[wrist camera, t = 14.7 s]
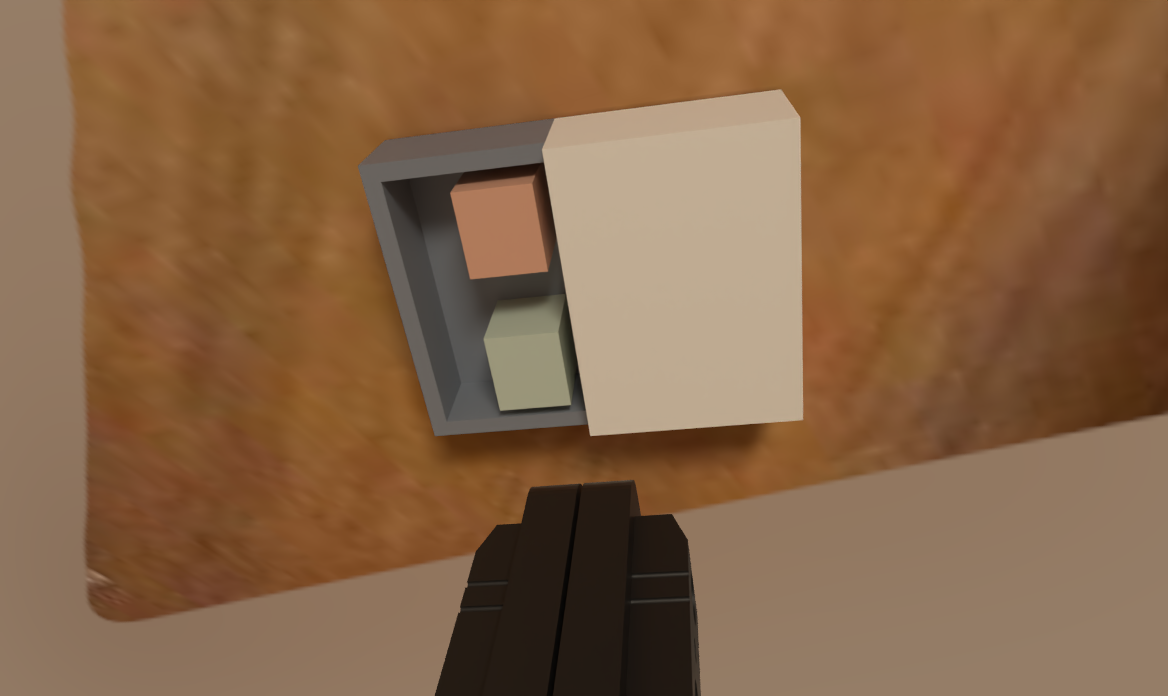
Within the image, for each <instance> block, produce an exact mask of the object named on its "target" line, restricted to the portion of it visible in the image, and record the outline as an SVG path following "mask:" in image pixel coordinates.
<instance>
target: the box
mask: <svg viewBox="0 0 1168 696" xmlns="http://www.w3.org/2000/svg"><path fill="white" fill-rule="evenodd" d="M553 121H554V119H547V120H539V121H531V122H523V123H516V124H508V125H500V126H492V127H484V128H477V129H469V130H461V131H453V132H445V133H438V134H430V135H422V136H414V137H406V138H399V139H391V140H385V141H384V142H383V143H382V144H380V145H379V146H378V147H377V148H376V149H375V150H374V151H373V152H372V153H371V154H370V155H369V156H368V157H367V158H366V159H365V160H363V161H362V162H361V163H360V164H359V165H358V168H359V172H360V175H361V179H362V182H363V186H364V189H365V193H366V196H367V200H368V203H369V207H370V210H371V214H372V217H373V221H374V224H375V228H376V231H377V235H378V238H379V242H380V245H381V249H382V252H383V256H384V259H385V263H386V266H387V270H388V273H389V277H390V280H391V284H392V287H393V291H394V294H395V298H396V301H397V305H398V308H399V312H400V315H401V319H402V322H403V326H404V329H405V333H406V336H407V340H408V343H409V347H410V350H411V354H412V357H413V361H414V364H415V368H416V371H417V375H418V378H419V382H420V385H421V389H422V392H423V396H424V399H425V403H426V406H427V410H428V413H429V417H430V420H431V424H432V427H433V431H434V434H435V436H443V435H456V434H469V433H482V432H495V431H508V430H521V429H534V428H547V427H560V426H573V425H585V424H588V419H587V413H586V407H585V401H584V395H583V390H582V384H581V378H580V372H579V366H578V360H577V369H576V375H575V382H574V389H573V396H572V402H571V405H565V406H552V407H540V408H527V409H515V410H503V411H500V408H499V404H498V400H497V395H496V391H495V387H494V382H493V378H492V374H491V369H490V365H489V361H488V356H487V352H486V348H485V343H484V336H485V334H486V331H487V328H488V325H489V323H490V320H491V317H492V315H493V312H494V309H495V306H496V304H497V301H499V300H509V299H519V298H529V297H539V296H549V295H559V294H566V289H565V283H564V277H563V271H562V265H561V259H560V253H559V247H558V241H557V239H556V242H555V246H554V250H553V254H552V258H551V262H550V265H549V269H548V272H538V273H528V274H518V275H509V276H499V277H489V278H480V279H470V276H469V272H468V267H467V263H466V259H465V254H464V250H463V246H462V241H461V237H460V233H459V229H458V224H457V220H456V216H455V211H454V207H453V203H452V198H451V194H450V192H451V191H452V189H453V188H454V186H455V185H456V183H457V182H458V180H459V179H460V177H461V176H462V174H463V173H464V172H468V171H476V170H485V169H493V168H501V167H509V166H518V165H526V164H534V163H542V162H544V159H543V153H542V148H543V146H544V143H545V141H546V138H547V136H548V134H549V131H550V129H551V126H552V124H553ZM566 298H567V295H566ZM567 303H568V301H567ZM568 309H569V307H568ZM569 315H570V313H569ZM570 321H571V318H570ZM571 327H572V324H571ZM572 333H573V330H572ZM573 339H574V336H573ZM574 345H575V342H574ZM575 351H576V348H575ZM576 357H577V354H576Z"/></svg>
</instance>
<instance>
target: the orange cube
mask: <svg viewBox="0 0 1168 696" xmlns="http://www.w3.org/2000/svg"><path fill="white" fill-rule="evenodd" d="M450 194H451V198H452V203H453V207H454V211H455V216H456V220H457V224H458V229H459V233H460V237H461V241H462V246H463V250H464V254H465V259H466V263H467V267H468V272H469V276H470V279H480V278H489V277H499V276H509V275H518V274H528V273H538V272H548V269H549V265H550V262H551V258H552V254H553V250H554V246H555V242H556V239H557V236H556V230H555V224H554V218H553V212H552V206H551V200H550V194H549V188H548V182H547V176H546V170H545V165H544V162H542V163H534V164H526V165H518V166H509V167H501V168H493V169H485V170H476V171H468V172H464V173H463V174H462V176H461V177H460V179H459V180H458V182H457V183H456V185H455V186H454V188H453V189H452V191H451V192H450Z"/></svg>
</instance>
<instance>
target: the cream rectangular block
mask: <svg viewBox="0 0 1168 696" xmlns="http://www.w3.org/2000/svg"><path fill="white" fill-rule="evenodd" d="M542 153H543V159H544V165H545V170H546V176H547V182H548V188H549V194H550V200H551V206H552V212H553V218H554V224H555V230H556V236H557V241H558V247H559V253H560V259H561V265H562V271H563V277H564V283H565V289H566V295H567V301H568V307H569V313H570V318H571V324H572V330H573V336H574V342H575V348H576V354H577V360H578V366H579V372H580V378H581V384H582V390H583V395H584V401H585V407H586V413H587V419H588V425H589V431H590V436H598V435H611V434H624V433H637V432H651V431H664V430H677V429H691V428H704V427H717V426H730V425H744V424H757V423H770V422H784V421H797V420H803V361H802V252H801V143H800V116H799V115H798V114H797V112H796V111H795V109H794V108H793V106H792V105H791V103H790V102H789V100H788V99H787V97H786V96H785V95H784V93H783V92H782V90H773V91H765V92H757V93H750V94H742V95H734V96H726V97H718V98H711V99H703V100H695V101H687V102H679V103H672V104H664V105H656V106H648V107H640V108H633V109H625V110H617V111H609V112H601V113H594V114H586V115H578V116H570V117H562V118H555V119H554V121H553V124H552V126H551V129H550V131H549V134H548V136H547V138H546V141H545V143H544V146H543V148H542Z"/></svg>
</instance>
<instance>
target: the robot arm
mask: <svg viewBox="0 0 1168 696" xmlns="http://www.w3.org/2000/svg"><path fill="white" fill-rule="evenodd" d="M467 582H468V587H467V588H465V592H464V595H463V599H462V602H461V606H460V608H461V611H460V613H458V616H457V620H456V623H455V627H454V630H453V634H452V637H451V641H450V644H449V648H448V651H447V655H446V658H445V662H444V665H443V669H442V672H441V676H440V679H439V683H438V686H437V690H436V693H435V696H701V691H700V668H699V650H698V648H699V643H698V622H697V609H696V602H695V594H694V586H693V578H692V571H691V562H690V554H689V547H688V540H687V538H686V536H685V535H684V533H683V531H682V530H681V528H680V527H679V525H678V524H677V522H676V520H675V519H674V517H673V515H672V514H666V515H650V516H641V514H640V508H639V502H638V495H637V490H636V485H635V482H634V480H625V481H611V482H596V483H584V484H583V486H582V485H581V484H569V485H555V486H540V487H531V489H530V490H529V493H528V497H527V501H526V505H525V510H524V514H523V519H522V523H521V524H504V525H497V526H496V527H495V528H494V530H493V531H492V532H491V533H490V535H489V536H488V537H487V538H486V540H485V541H484V542H483V543H482V545H481V546H480V547H479V548H478V550H477V551H476V553H475V556H474V560H473V563H472V567H471V571H470V574H469V578H468V581H467Z"/></svg>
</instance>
